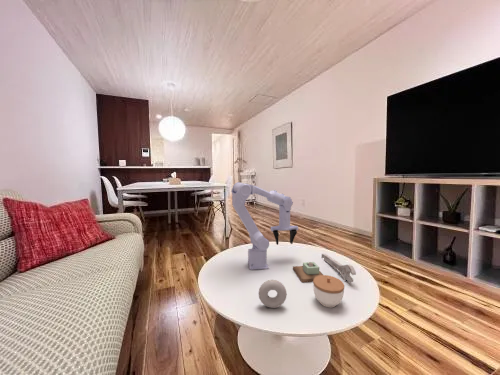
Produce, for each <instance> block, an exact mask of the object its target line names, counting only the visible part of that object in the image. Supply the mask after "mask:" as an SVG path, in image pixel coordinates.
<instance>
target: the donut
mask: <svg viewBox="0 0 500 375" xmlns="http://www.w3.org/2000/svg"><path fill="white" fill-rule="evenodd" d="M270 291H275V292H276V293H277V294H276V295H275V296H270V295H269V292H270ZM287 295H288V294H287V289H286V287H285V285H284V284H283V283H282V282H280V281H279V280H276V279H269V280H266V281H264V282H263V283H261V285H260V287H259V288H258V299H259V300H260V303H262V305H264V306H265V307H267V308H270V309H275V308H278V307H280V306H282V305H284V303H285V302H286V300H287Z"/></svg>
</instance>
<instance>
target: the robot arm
mask: <svg viewBox="0 0 500 375" xmlns="http://www.w3.org/2000/svg"><path fill="white" fill-rule="evenodd" d="M230 192H231V196H232V197H231V199H232V200H231V202H232V204H231V205H232V207H233V209H234V211H235V212H236V214H237V216H238V218H239V219H240V221H241V222H242V224H243V225H244V227H245V229H246V230H247V232H248V237H249V238H250V243H251V244H252V248H248V251H247V265H248V268H249V270H252V271H253V270H265V269H267V270H268V269H270V267H269V265H268V263H267V261H268V260H267V258H268V257H267V255H268V254H267V253H268V249H269V247H270V240H269V239H267V238H266V237H265V236H264V235H263V233H262V232H261V231H260V230H259V228H258V226H257V224H256V223H255V221H254V219H253V217H252V216H251V214H250V212H249V210H248V209H247V207H246V205H245V203H246V201H247V200H248V198H249V197H250V196H251V195H252V196H253V195H255V194H256V195H258V196H261V197H264V198H266V200H267V201H268V202H269V203H272V204H276V205H277V206H278V208H279V209H278V210H279V211H278V212H279V213H278V221H279V222H278V225H274V226H270V231H271V232H272V233H273V236H274V239H275V244H276V245H277V246H278V245H279V236H280V233H279V231H289V243H290V244H291V245H292V244H293V242H294V239H295V237H296V235H297V234H298V232H297V231H299V226H298V225H291V210H292V207H293V203H294V201H293V199H292V198H291V197H290V196H288V195H285V194H284V193H280V192H278V190H276V189H275V190H270V191H268V190H267V189H264V188H262V187H259V186H257V185H254V184H249V183H243V182H240V181H238V182H235V183H234V184H233V185H232V188H231V191H230Z"/></svg>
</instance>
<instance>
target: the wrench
mask: <svg viewBox="0 0 500 375" xmlns="http://www.w3.org/2000/svg"><path fill="white" fill-rule="evenodd" d="M322 258H324V261H325V262H326V263H328V265H330V266H332V267H334V269H336V270H337V271H339V273H340V274H341V276H342V278H343V281H344V280H345V281H344V282H348V283H353V282H354V279H353V278H352V276H353V275H355V276H356V274H357V273H356V269H355V267H354V266H353V264H342V263H340V262H339V261H337V260H336V259H334V258H332V257H331V256H329V255H328V254H326V253H321V259H322ZM346 280H347V281H346Z"/></svg>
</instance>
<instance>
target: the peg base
mask: <svg viewBox="0 0 500 375" xmlns="http://www.w3.org/2000/svg"><path fill="white" fill-rule="evenodd" d="M308 262H309V267H313V263H311V262H312V261H308ZM292 271H293V272H294V273H295V275H296V276H297V278H298V279H299V281H300V282H301V283H313V279H314V278H315V277H316V276H320V275H324V274H323V273H322V272H321V271H320V270H319V274H308V275H307V273H306V272H305V271H304V270H303V265H297V266H295V265H294V266H292Z"/></svg>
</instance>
